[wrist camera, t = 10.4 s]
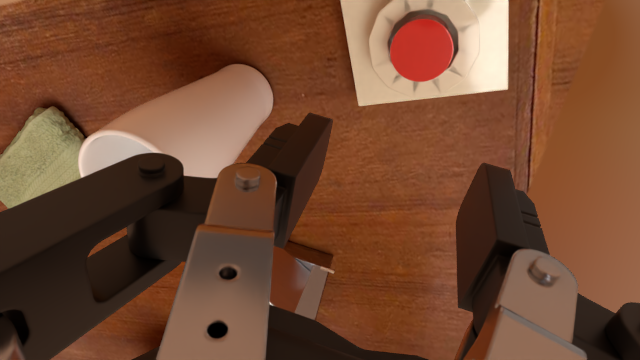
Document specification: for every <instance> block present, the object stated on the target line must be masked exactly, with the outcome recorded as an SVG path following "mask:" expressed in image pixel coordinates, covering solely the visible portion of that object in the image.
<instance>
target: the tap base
mask: <svg viewBox="0 0 640 360" xmlns="http://www.w3.org/2000/svg"><path fill="white" fill-rule="evenodd" d="M284 250H285V251H286V252H287V253H289V254H290V255H291V256H292V257H293V258H294V259H296V260H297V261H298V262H299V263H300V264H301V265H303V266H304V267H305V268H306V269H307V270H308V271H310V275H309V278H308V280H307V283H306V285H305V288H304V290H303V293H302V295H301V298H300V300H299V303H298V305H297V308H296V310H295V313H296V314H299V315H302V316H305V317H308V318H310V319H313V320H315V321H316V317H317V313H318V310H319V306H320V302H321V299H322V295H323V292H324V288H325V284H326V281H327V277H328V274H329V272H331V273H334V272H335V270H334V269H331V268H330V266H331V263H332V259H333V256H332V255H329V254H326V253H323V252H320V251H317V250H314V249H311V248H308V247H305V246H302V245H299V244H296V243H293V242H290V241H287V243H286V245H285V247H284Z"/></svg>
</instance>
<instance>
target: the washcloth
mask: <svg viewBox="0 0 640 360" xmlns="http://www.w3.org/2000/svg"><path fill="white" fill-rule="evenodd" d="M18 132H19V133H18V134H17V136H16V137H15V138H13V141H12V142H11V144H10V145H9V146H8V147H7V148H6V149H5V151H4V153H3V154H1V155H0V200H1V201H2V202H3V203H4V204H5V205H6V206H7V208H8V209H9V208H11V207H14V206H16V205H19V204H21V203H23V202H26V201H28V200H30V199H33V198H35V197H37V196H40V195H42V194H45V193H47V192H49V191H52V190H54V189H56V188H59V187H61V186H63V185H66V184H68V183H70V182H73V181H75V180H78V179H80V178H81V176H80V172H79V167H78V155H79V150H80V148H81V145H82V144H83V142H84V141H85V139H84V135H82V133H81V132H80V131H79V130H78V129H77V128H75V126H73V123H70V121H69V119H68V118H67V117H65V116H64V112H61V111H59V110H58V109H57V108H56V107H54V106H51V107H49V108H48V109H46V108H45V109H44V108H41V107H40V108H37V109H36V110H35V111H34V114H33V115H32V116H30V117H29V119H27V121H26V122H25V126H24V127H23V129H22V130H21V131H18Z"/></svg>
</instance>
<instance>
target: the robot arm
mask: <svg viewBox="0 0 640 360" xmlns="http://www.w3.org/2000/svg"><path fill="white" fill-rule="evenodd" d="M332 123H333V120H332V119H330V118H326V117H323V116H319V115H316V114H312V113H308V115H307V116H306V117H305V119H304V120H303V121H302V123H301V124H300V125H299V126H297V125H294V124H290V123H287V124H285V125H283V126H280V127H278V128H276V129H275V130H274V131H273V132H272V133H271V135H270V136H269V138H267V139H266V140H265V142H264V144H262V145H261V146H260V147H259V149H258V150H257V151H256V152H255V153H254V154H253V156H252V157H251V158H250V159H249V160H248V161H247V163H236V164H232V165H229V166H227V167H225V168H223V169H222V170H221V171H220V172H219V174H218V177H217V178H204V177H193V176H184V167H183V164H182V163H181V162H180V161H179V160H178V159H177V158H175V157H173V156H170V155H167V154H163V153H143V154H138V155H135V156H132V157H129V158H127V159H125V160H122V161H120V162H118V163H115V164H113V165H111V166H108V167H106V168H103V169H101V170H99V171H96V172H94V173H92V174H89V175H87V176H85V177H82V178H80V179H78V180H75V181H73V182H70V183H68V184H66V185H63V186H61V187H59V188H56V189H54V190H52V191H49V192H47V193H45V194H42V195H40V196H37V197H35V198H33V199H30V200H28V201H26V202H23V203H21V204H19V205H16V206H14V207H11V208H9V209H7V210H4V211H2V212H0V360H50V359H51V358H53V357H54V356H55V355H57V354H58V353H60V352H61V351H62V350H64V349H65V348H66V347H68V346H69V345H70V344H72V343H73V342H75V341H76V340H77V339H79V338H80V337H81V336H83V335H84V334H85V333H87V332H88V331H90V330H91V329H92V328H94V327H95V326H96V325H98V324H99V323H101V322H102V321H103V320H105V319H106V318H107V317H109V316H110V315H111V314H113V313H114V312H116V311H117V310H118V309H120V308H121V307H122V306H124V305H125V304H126V303H128V302H129V301H131V300H132V299H133V298H135V297H136V296H137V295H139V294H140V293H141V292H143V291H144V290H146V289H147V288H148V287H150V286H151V285H152V284H154V283H155V282H156V281H158V280H159V279H161V278H162V277H163V276H165V275H166V274H167V273H169V272H170V271H172V270H173V269H174V268H176V267H177V266H178V265H179V264H180V263H181V262H182V261H185V262H186V263H185V267H184V270H183V273H182V276H181V280H180V283H179V286H178V289H177V293H176V296H175V299H174V302H173V306H172V309H171V312H170V315H169V319H168V322H167V325H166V328H165V332H164V335H163V338H162V341H161V345H160V346H159V347H157V348H155V349H153V350H151V351H149V352H147V353H145V354H143V355H140V356H138V357H136V358H134V359H132V360H428V359H425V358H422V357H419V356H415V355H406V354H397V353H388V352H379V351H370V350H364V349H361V348H359V347H357V346H356V345H354V344H352V343H351V342H349V341H348V340H346V339H344V338H343V337H341V336H339V335H338V334H336V333H335V332H333V331H331V330H330V329H328V328H327V327H325V326H323V325H322V324H320V323H319V322H317V321H315V320H313V319H310V318H308V317H305V316H302V315H299V314H296V313H293V312H290V311H288V310H285V309H282V308H279V307H276V306H273V305H270V304H269V303H270V290H271V276H272V262H273V248H274V246H276V247H279V248H282V249H284V247H285V245H286V243H287V241H288V239H289V237H290V235H291V233H292V231H293V229H294V227H295V225H296V223H297V221H298V219H299V218H300V216H301V214H302V212H303V210H304V208H305V206H306V204H307V202H308V200H309V198H310V196H311V194H312V192H313V190H314V188H315V186H316V184H317V183H318V180H319V178H320V175H321V172H322V169H323V165H324V161H325V156H326V151H327V147H328V142H329V138H330V133H331V129H332ZM537 216H538V215H537V212H536V209H535V206H534V203H533V202H532V201H531V200H530V199H529V198H528V196H527V195H526V194H525V193H524V192H523V191H520V190H516V189H515V187H514V183H513V179H512V175H511V172H510V170H508V169H504V168H501V167H497V166H493V165H490V164H486V163H482V164H481V166H480V167H479V169H478V171H477V173H476V175H475V177H474V179H473V181H472V183H471V185H470V187H469V189H468V192H467V194H466V196H465V198H464V200H463V202H462V204H461V207H460V209H459V212H458V216H457V220H456V247H457V287H458V308H461V309H464V310H468V311H471V312H473V320H472V321H471V323H470V325H469V326H468V328H467V330H466V332H465V334H464V337H463V339H462V342H461V344H460V347H459V349H458V352H457V354H456V357H455V359H454V360H640V303H626V304H624V305H623V306H622V307H621V308H620V309H619V310H618V311H617V313H613V312H611V311H610V310H608V309H606V308H604V307H602V306H600V305H598V304H596V303H595V302H593V301H591V300H589V299H587V298H585V297H584V296H582V295H580V294H579V293H578V284H577V280H576V278H575V277H574V275H573V274H572V272H571V271H570V270H569V269H568V268H567V267H566V266H565V265H564V264H562V263H561V262H560V261H558V260H557V259H555V258H554V257H552V256H550V254H549V251H548V248H547V245H546V242H545V238H544V235H543V231H542V228H540V226H541V225H540V222H539V219H538V218H537ZM125 227H127V235H125V236H124V237H122V238H120V239H119V240H117V241H115V242H113V243H112V244H110V245H108V246H107V247H105V248H103V249H102V250H100V251H98V252H96V253H95V254H93V255H91V256H90V257H88V255H89V253H90V251H91V250H92V249H93V247H94V246H95V245H97V244H98V243H99V242H101V241H102V240H104V239H106V238H108V237H109V236H111V235H113V234H115V233H116V232H118V231H120V230H122V229H123V228H125ZM87 257H88V258H87Z"/></svg>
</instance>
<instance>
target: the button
mask: <svg viewBox="0 0 640 360" xmlns="http://www.w3.org/2000/svg"><path fill="white" fill-rule="evenodd" d="M453 52H454V42H453V35H452V31H451V29H450V27H449V26H448V24H447V23H446V22H445V21H444V20H443V19H441V18H440V17H438V16H435V15H432V14H419V15H415V16H413V17H411V18H409V19H407V20H406V21H405V22H404V23H402V25H401V26H400V27H399V28H398V30H397V32H396V34H395V36H394V38H393V40H392V43H391V47H390V57H391V61H392V64H393V66H394V68H395V69H396V71H397V72H398V73H399V74H400V75H401V76H403V77H404V78H406V79H408V80H411V81H415V82H424V81H429V80H432V79H434V78H436V77H438V76H439V75H441V74H442V73H443V72H444V71H445V70H446V69H447V67H448V66H449V64H450V62H451V60H452V57H453Z"/></svg>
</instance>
